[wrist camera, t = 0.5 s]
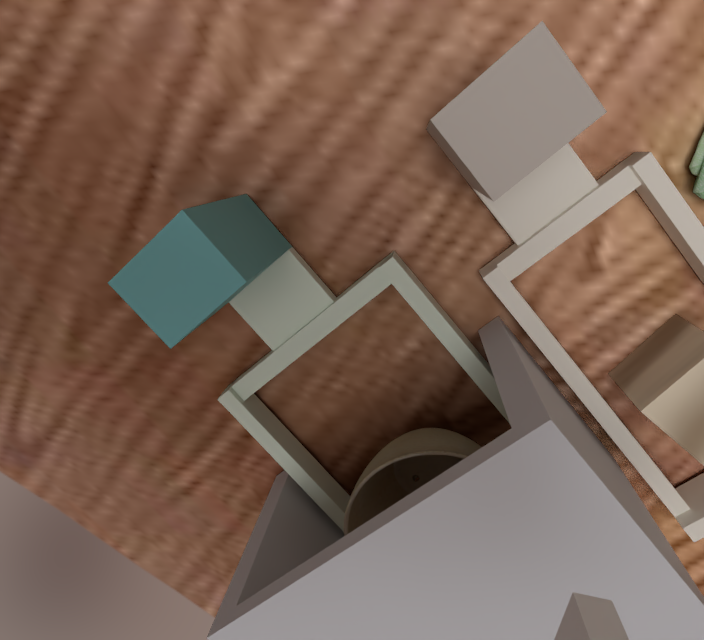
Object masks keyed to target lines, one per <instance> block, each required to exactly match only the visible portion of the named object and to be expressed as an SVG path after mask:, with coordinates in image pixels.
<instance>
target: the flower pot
mask: <svg viewBox="0 0 704 640" xmlns="http://www.w3.org/2000/svg"><path fill="white" fill-rule="evenodd" d="M480 448H482V447H481V446H480V445H478V444H477V443H475V442H474V441H472V440H471V439H469V438H467V437H465V436H463V435H461V434H459V433H456V432H453V431H450V430H446V429H441V428H422V429H417V430H413V431H410V432H408V433H405V434H403V435H401V436H400V437H398V438H396V439H394V440H393V441H391V442H390V443H389V444H387V445H386V446H385V447H384V448H383V449H382V450H381V451H379V452H378V454H377V455H376V456H375V457H374V458H373V459H372V460H371V462H370V463H369V464H368V466H367V467H366V469H365V470H364V471H363V473H362V475H361V476H360V478H359V480H358V482H357V483H356V485H355V488H354V490H353V492H352V494H351V496H350V499H349V502H348V505H347V508H346V511H345V516H344V536H346V535H347V534H349V533H350V532H352V531H353V530H355V529H356V528H358V527H359V526H361V525H363V524H364V523H366V522H367V521H369V520H370V519H372V518H373V517H375V516H377V515H378V514H380V513H381V512H383V511H384V510H386V509H387V508H389V507H390V506H392V505H394V504H395V503H397V502H398V501H400V500H401V499H403V498H404V497H406V496H407V495H409V494H411V493H412V492H414V491H415V490H417V489H418V488H420V487H421V486H423V485H425V484H426V483H428V482H429V481H431V480H432V479H434V478H435V477H437V476H438V475H440V474H442V473H443V472H445V471H446V470H448V469H449V468H451V467H452V466H454V465H456V464H457V463H459V462H460V461H462V460H463V459H465V458H466V457H468V456H469V455H471V454H473V453H474V452H476V451H477V450H479V449H480ZM416 478H419V479H418V480H415V479H416Z"/></svg>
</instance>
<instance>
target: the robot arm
mask: <svg viewBox="0 0 704 640" xmlns="http://www.w3.org/2000/svg"><path fill="white" fill-rule="evenodd" d="M554 640H629V638H628V636H627V634H626V631H625V629H624V627H623V625H622V622H621V620H620V618H619V615H618V613H617V611H616V609H615V606H614V604H613V602H612V600H607V599H603V598H598V597H593V596H589V595H584V594H580V593H575V592H573V593H572V596H571V598H570V601H569V603H568V606H567V608H566V611H565V613H564V616H563V618H562V621H561V623H560V626H559V628H558V631H557V634H556V636H555V639H554Z"/></svg>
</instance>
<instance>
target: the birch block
mask: <svg viewBox="0 0 704 640" xmlns="http://www.w3.org/2000/svg"><path fill="white" fill-rule="evenodd" d="M608 374H609V375H610V377H611V378H612V379H613V380H614V381H615V382H616V384H617V385H618V386H619V387H620V388H621V389H622V390H623V392H624V393H625V394H626V395H627V396H628V397H629V399H630V400H631V401H632V402H633V403H634V404H635V406H636V407H637V408H638V409H639V410H640V411H641V412H642V413H643V414H644V415H645V416H646V417H648V418H649V419H650V420H651V421H652V422H653V423H655V424H656V425H657V426H658V427H659V428H660V429H662V430H663V431H664V432H665V433H666V434H667V435H669V436H670V437H671V438H672V439H673V440H674V441H676V442H677V443H678V444H679V445H680V446H681V447H682V448H684V449H685V450H686V451H687V452H688V453H689V454H691V455H692V456H693V457H694V458H695V459H696V460H698V461H699V462H700V463H701V464H702V465H703V466H704V331H702V330H701V329H699V328H697V327H696V326H694V325H693V324H691V323H689V322H688V321H686V320H685V319H683V318H681V317H680V316H678V315H677V314H675V315H673V316H672V317H671V318H670V319H669V320H668V321H667V322H666V323H664V324H663V325H662V326H661V327H660V328H659V329H658V330H657V331H655V332H654V333H653V334H652V335H651V336H650V337H649V338H647V339H646V340H645V341H644V342H643V343H642V344H641V345H640V346H638V347H637V348H636V349H635V350H634V351H633V352H632V353H631V354H629V355H628V356H627V357H626V358H625V359H624V360H623V361H622V362H620V363H619V364H618V365H617V366H616V367H615V368H614V369H613V370H611V371H610V372H609V373H608Z"/></svg>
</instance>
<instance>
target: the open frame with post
mask: <svg viewBox="0 0 704 640" xmlns="http://www.w3.org/2000/svg"><path fill="white" fill-rule="evenodd" d="M606 112H607V111H606V110H605V109H604V107H603V106H602V104H601V103H600V102H599V100H598V99H597V97H596V96H595V94H594V93H593V92H592V90H591V89H590V87H589V86H588V85H587V83H586V82H585V80H584V79H583V78H582V76H581V75H580V73H579V72H578V71H577V69H576V68H575V66H574V65H573V64H572V62H571V61H570V59H569V58H568V56H567V55H566V54H565V52H564V51H563V49H562V48H561V47H560V45H559V44H558V42H557V41H556V40H555V38H554V37H553V35H552V34H551V33H550V31H549V30H548V28H547V27H546V26H545V24H544V23H543V21H542V22H540V23H539V24H538V25H537V26H536V27H535V28H534V29H532V30H531V31H530V32H529V33H528V34H527V35H526V36H525V37H523V38H522V39H521V40H520V41H519V42H518V43H517V44H515V45H514V46H513V47H512V48H511V49H510V50H509V51H508V52H506V53H505V54H504V55H503V56H502V57H501V58H500V59H498V60H497V61H496V62H495V63H494V64H493V65H492V66H491V67H489V68H488V69H487V70H486V71H485V72H484V73H483V74H481V75H480V76H479V77H478V78H477V79H476V80H475V81H474V82H472V83H471V84H470V85H469V86H468V87H467V88H466V89H464V90H463V91H462V92H461V93H460V94H459V95H458V96H457V97H455V98H454V99H453V100H452V101H451V102H450V103H449V104H447V105H446V106H445V107H444V108H443V109H442V110H441V111H440V112H438V113H437V114H436V115H435V116H434V117H433V118H432V119H430V121H429V124H428V126H427V128H426V130H427V131H428V132H429V134H430V135H431V136H432V137H433V139H434V140H435V141H436V143H437V144H438V145H439V146H440V148H441V149H442V150H443V152H444V153H445V154H446V155H447V157H448V158H449V159H450V161H451V162H452V163H453V164H454V166H455V167H456V168H457V169H458V171H459V172H460V173H461V175H462V176H463V177H464V178H465V180H466V181H467V182H468V184H469V185H470V186H471V187H472V189H473V190H474V191H475V192H476V194H477V195H478V196H479V198H480V199H481V200H482V201H483V203H484V204H485V205H486V207H487V208H488V209H489V210H490V212H491V213H492V214H493V216H494V217H495V218H496V219H497V221H498V222H499V223H500V224H501V226H502V227H503V228H504V230H505V231H506V232H507V233H508V235H509V236H510V237H511V239H512V240H513V241H514V242H515V243H514V244H513V245H512V246H510V247H509V248H508V249H506V250H505V251H504V252H502V253H501V254H500V255H498V256H497V257H496V258H494V259H493V260H492V261H491V262H489V263H488V264H487V265H485V266H484V267H483V268H481V269H480V270H479V272H480V274H481V276H482V278H483V279H484V281H485V282H486V283H487V284H488V286H489V287H490V288H491V289H492V291H493V292H494V293H495V294H496V295H497V297H498V298H499V299H500V300H501V302H502V303H503V304H504V305H505V307H506V308H507V309H508V310H509V312H510V313H511V314H512V315H513V317H514V318H515V319H516V320H517V322H518V323H519V324H520V325H521V327H522V328H523V329H524V330H525V332H526V333H527V334H528V335H529V336H530V338H531V339H532V340H533V341H534V343H535V344H536V345H537V346H538V348H539V349H540V350H541V351H542V353H543V354H544V355H545V356H546V358H547V359H548V360H549V361H550V363H551V364H552V365H553V366H554V368H555V369H556V370H557V371H558V373H559V374H560V375H561V376H562V377H563V379H564V380H565V381H566V382H567V384H568V385H569V386H570V387H571V389H572V390H573V391H574V392H575V394H576V395H577V396H578V397H579V399H580V400H581V401H582V402H583V404H584V405H585V406H586V407H587V409H588V410H589V411H590V412H591V414H592V415H593V416H594V417H595V419H596V420H597V421H598V422H599V423H600V425H601V426H602V427H603V428H604V430H605V431H606V432H607V433H608V435H609V436H610V437H611V438H612V440H613V441H614V442H615V443H616V445H617V446H618V447H619V448H620V450H621V451H622V452H623V453H624V455H625V456H626V457H627V458H628V460H629V461H630V462H631V463H632V464H633V466H634V467H635V468H636V469H637V471H638V472H639V473H640V474H641V476H642V477H643V478H644V479H645V481H646V482H647V483H648V484H649V486H650V487H651V488H652V489H653V491H654V492H655V493H656V494H657V496H658V497H659V498H660V499H661V501H662V502H663V503H664V504H665V505H666V507H667V508H668V509H669V510H670V512H671V513H672V514H673V515H674V517H675V518H676V519H677V521H678V522H679V524H680V525H681V526H682V528H683V529H684V530H685V532H686V533H687V534H688V535H689V537H690V538H691V539H692V540H693V542H696V541H698V540H700V539H702V538H704V473H702V474H700V475H699V476H697V477H695V478H693V479H691V480H690V481H688V482H686V483H684V484H682V485H681V486H679V487H677V488H674V487H673V486H672V484H671V483H670V482H669V480H668V479H667V478H666V477H665V475H664V474H663V473H662V472H661V470H660V469H659V468H658V467H657V465H656V464H655V463H654V462H653V460H652V459H651V458H650V457H649V455H648V454H647V453H646V452H645V450H644V449H643V448H642V447H641V445H640V444H639V443H638V441H637V440H636V439H635V438H634V436H633V435H632V434H631V433H630V431H629V430H628V429H627V428H626V426H625V425H624V424H623V423H622V421H621V420H620V419H619V418H618V416H617V415H616V414H615V413H614V411H613V410H612V409H611V408H610V406H609V405H608V404H607V403H606V401H605V400H604V399H603V397H602V396H601V395H600V394H599V392H598V391H597V390H596V389H595V387H594V386H593V385H592V384H591V382H590V381H589V380H588V379H587V377H586V376H585V375H584V374H583V372H582V371H581V370H580V369H579V367H578V366H577V365H576V364H575V362H574V361H573V360H572V358H571V357H570V356H569V355H568V353H567V352H566V351H565V350H564V348H563V347H562V346H561V345H560V343H559V342H558V341H557V340H556V338H555V337H554V336H553V335H552V333H551V332H550V331H549V330H548V328H547V327H546V326H545V325H544V323H543V322H542V321H541V319H540V318H539V317H538V316H537V314H536V313H535V312H534V311H533V309H532V308H531V307H530V306H529V304H528V303H527V302H526V301H525V299H524V298H523V297H522V296H521V294H520V293H519V292H518V291H517V289H516V288H515V287H514V286H513V284H512V283H511V282H510V281H511V280H513V279H514V278H515V277H517V276H518V275H520V274H521V273H522V272H524V271H525V270H526V269H528V268H529V267H530V266H532V265H533V264H534V263H536V262H537V261H539V260H540V259H541V258H543V257H544V256H545V255H547V254H548V253H549V252H551V251H552V250H553V249H555V248H556V247H558V246H559V245H560V244H562V243H563V242H564V241H566V240H567V239H568V238H570V237H571V236H572V235H574V234H575V233H576V232H578V231H579V230H581V229H582V228H583V227H585V226H586V225H587V224H589V223H590V222H591V221H593V220H594V219H595V218H597V217H598V216H600V215H601V214H602V213H604V212H605V211H606V210H608V209H609V208H610V207H612V206H613V205H614V204H616V203H617V202H619V201H620V200H621V199H623V198H624V197H625V196H627V195H628V194H629V193H631V192H632V191H633V190H636V191H637V192H638V194H639V195H640V196H641V198H642V199H643V201H644V202H645V203H646V205H647V206H648V208H649V209H650V210H651V212H652V213H653V214H654V216H655V217H656V219H657V220H658V221H659V223H660V224H661V226H662V227H663V228H664V230H665V231H666V233H667V234H668V235H669V237H670V238H671V239H672V241H673V242H674V244H675V245H676V246H677V248H678V249H679V251H680V252H681V253H682V255H683V256H684V257H685V259H686V260H687V262H688V263H689V264H690V266H691V267H692V269H693V270H694V271H695V273H696V274H697V276H698V277H699V278H700V280H701V281H702V282H703V284H704V227H703V226H702V224H701V223H700V221H699V220H698V218H697V217H696V216H695V214H694V213H693V211H692V210H691V209H690V207H689V206H688V204H687V203H686V201H685V200H684V199H683V197H682V196H681V194H680V193H679V192H678V190H677V189H676V187H675V186H674V184H673V183H672V182H671V180H670V179H669V177H668V176H667V175H666V173H665V172H664V170H663V169H662V167H661V166H660V165H659V163H658V162H657V160H656V159H655V157H654V156H653V155H652V153H651V152H634V153H633V154H631V155H630V156H629V157H627V158H626V159H625V160H624V161H622V162H621V163H620V164H618V165H617V166H616V167H614V168H613V169H612V170H610V171H609V172H608V173H606V174H605V175H604V176H602V177H601V178H600V179H598V180H597V181H596V180H595V179H594V177H593V176H592V175H591V173H590V172H589V171H588V169H587V168H586V167H585V165H584V164H583V162H582V161H581V160H580V158H579V157H578V156H577V154H576V153H575V152H574V150H573V149H572V147H571V146H570V145H569V143H568V142H570V141H571V140H572V139H573V138H575V137H576V136H577V135H579V134H580V133H581V132H582V131H584V130H585V129H586V128H587V127H589V126H590V125H591V124H592V123H594V122H595V121H596V120H597V119H599V118H600V117H601V116H602V115H604V114H605V113H606Z"/></svg>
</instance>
